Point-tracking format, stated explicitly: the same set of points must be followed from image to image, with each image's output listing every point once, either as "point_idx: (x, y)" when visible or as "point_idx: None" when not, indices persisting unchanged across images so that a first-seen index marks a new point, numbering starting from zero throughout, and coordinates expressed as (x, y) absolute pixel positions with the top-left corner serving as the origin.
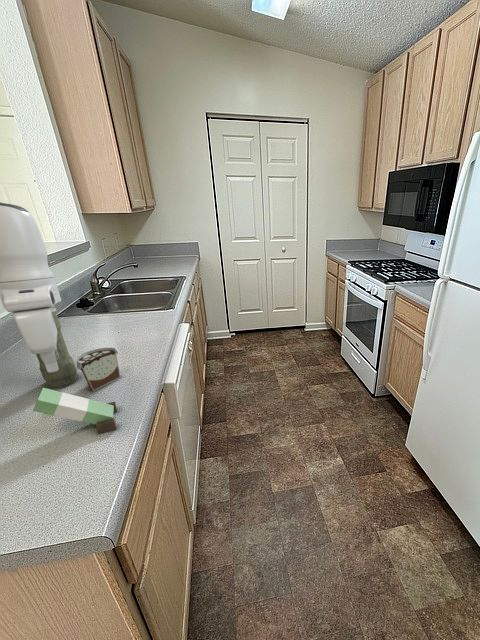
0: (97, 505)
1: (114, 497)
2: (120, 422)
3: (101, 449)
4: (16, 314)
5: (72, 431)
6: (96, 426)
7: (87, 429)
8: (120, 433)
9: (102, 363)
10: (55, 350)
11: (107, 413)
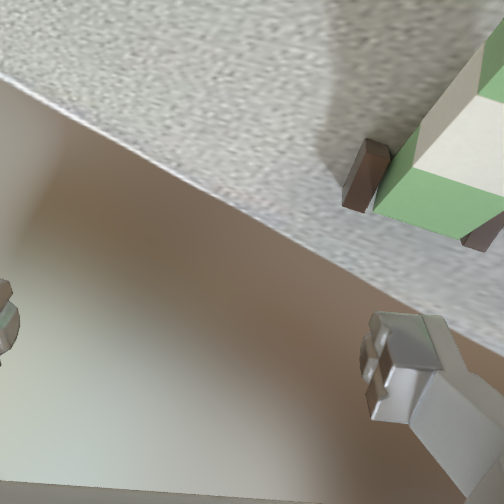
0: (16, 40)
1: (27, 85)
2: None
3: (265, 118)
4: None
5: None
6: (365, 151)
7: None
8: (309, 190)
9: None
10: (414, 423)
11: (399, 209)
